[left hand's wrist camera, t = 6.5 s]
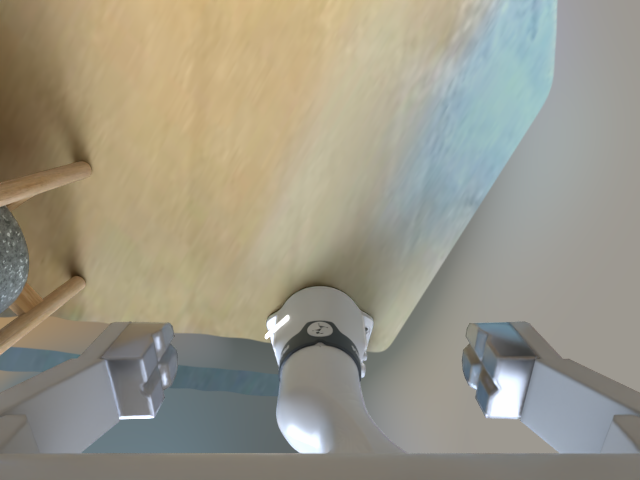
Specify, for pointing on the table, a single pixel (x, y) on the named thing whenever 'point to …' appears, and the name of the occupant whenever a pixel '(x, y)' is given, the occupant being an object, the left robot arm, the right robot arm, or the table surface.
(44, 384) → the left robot arm
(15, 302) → the planter
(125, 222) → the table surface
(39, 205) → the table surface
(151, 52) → the table surface
